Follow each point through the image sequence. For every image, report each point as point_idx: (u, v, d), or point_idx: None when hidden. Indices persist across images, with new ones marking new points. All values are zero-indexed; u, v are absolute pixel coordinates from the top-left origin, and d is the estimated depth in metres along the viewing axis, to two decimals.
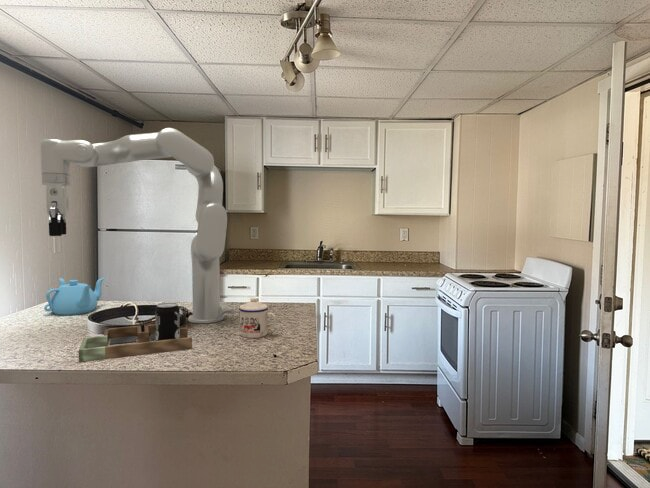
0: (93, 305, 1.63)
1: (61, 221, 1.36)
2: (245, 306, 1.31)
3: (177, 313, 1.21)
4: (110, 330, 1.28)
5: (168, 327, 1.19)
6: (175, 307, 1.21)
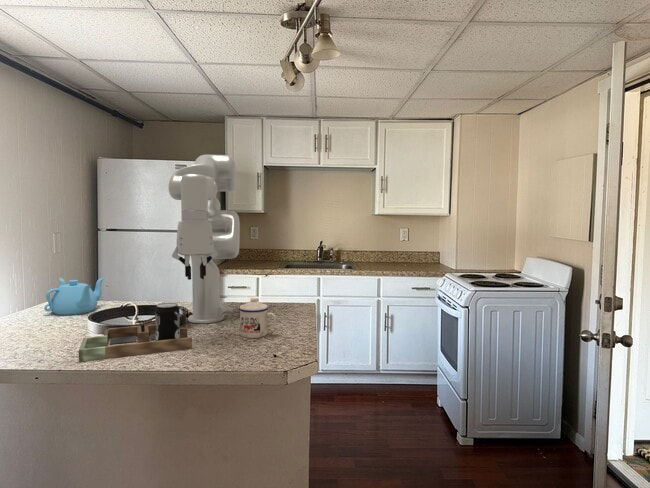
0: (93, 305, 1.63)
1: None
2: (245, 306, 1.31)
3: (177, 313, 1.21)
4: (110, 330, 1.28)
5: (168, 327, 1.19)
6: (175, 307, 1.21)
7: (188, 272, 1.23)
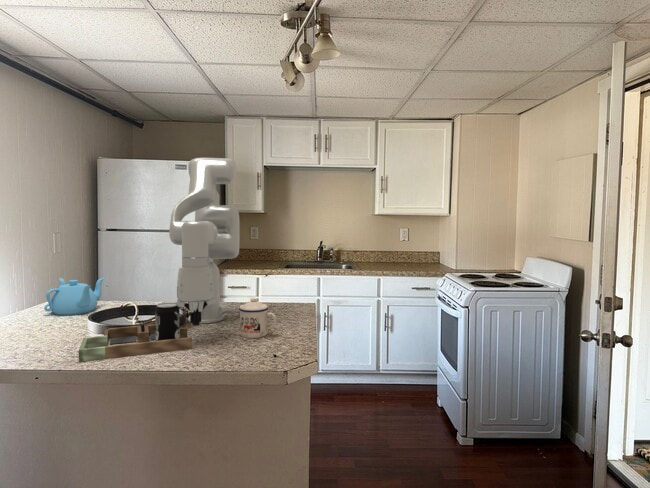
0: (93, 305, 1.63)
1: None
2: (245, 306, 1.31)
3: (177, 313, 1.21)
4: (110, 330, 1.28)
5: (168, 327, 1.19)
6: (175, 307, 1.21)
7: (193, 318, 1.23)
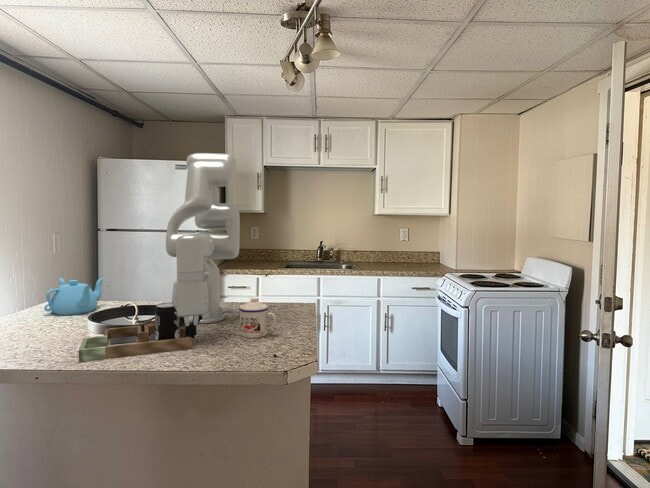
0: (93, 305, 1.63)
1: (189, 323, 1.25)
2: (245, 306, 1.31)
3: None
4: (110, 330, 1.28)
5: (167, 327, 1.19)
6: None
7: (188, 332, 1.24)
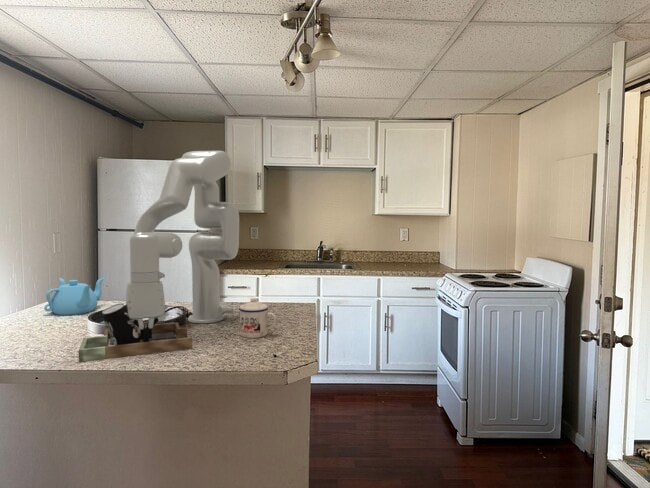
0: (93, 305, 1.63)
1: (144, 326, 1.20)
2: (245, 306, 1.31)
3: (127, 313, 1.15)
4: None
5: (123, 330, 1.14)
6: (123, 308, 1.14)
7: (143, 335, 1.18)
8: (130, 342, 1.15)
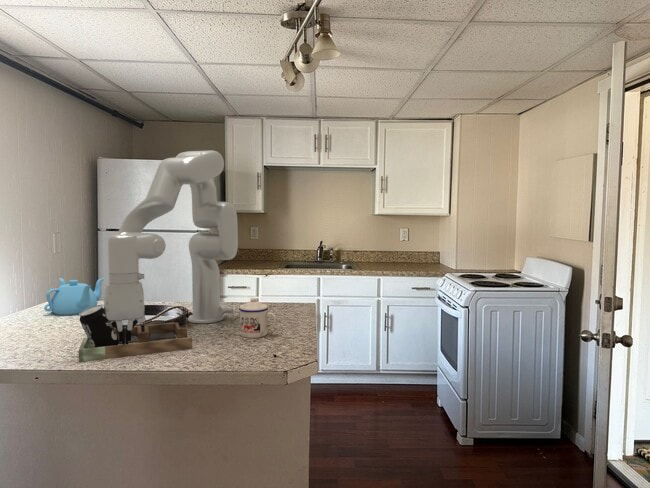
0: (93, 305, 1.63)
1: (123, 328, 1.18)
2: (245, 306, 1.31)
3: (105, 315, 1.13)
4: None
5: (101, 332, 1.12)
6: (101, 310, 1.12)
7: (122, 337, 1.16)
8: (109, 344, 1.13)
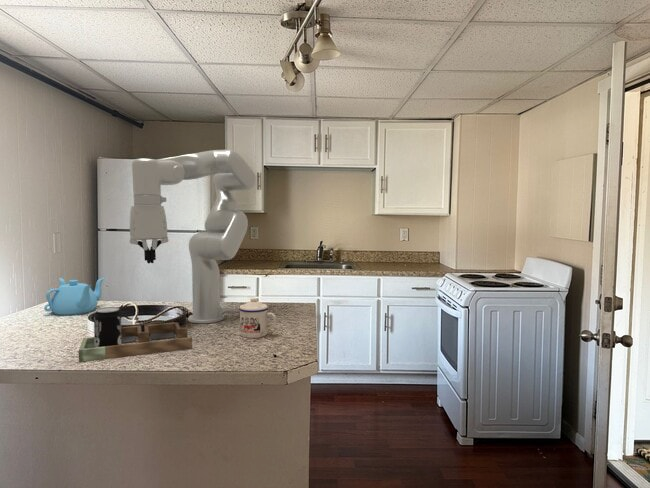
0: (93, 305, 1.63)
1: None
2: (245, 306, 1.31)
3: (119, 318, 1.15)
4: None
5: (110, 333, 1.13)
6: (117, 311, 1.15)
7: (147, 256, 1.24)
8: None
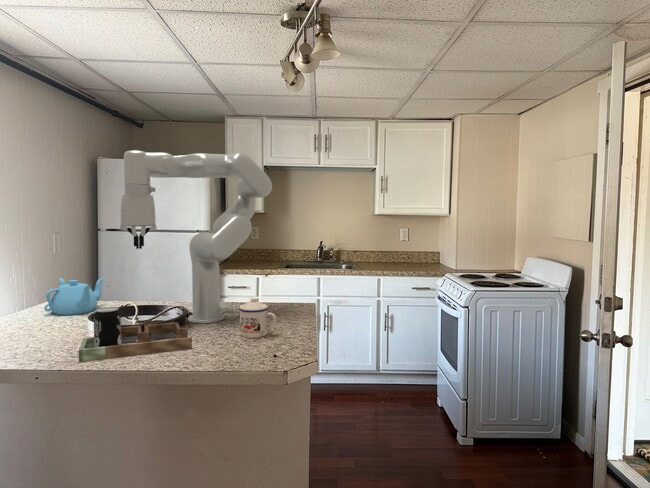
0: (93, 305, 1.63)
1: (137, 235, 1.34)
2: (245, 306, 1.31)
3: (119, 317, 1.16)
4: None
5: (110, 332, 1.13)
6: (117, 311, 1.15)
7: (136, 242, 1.33)
8: None
